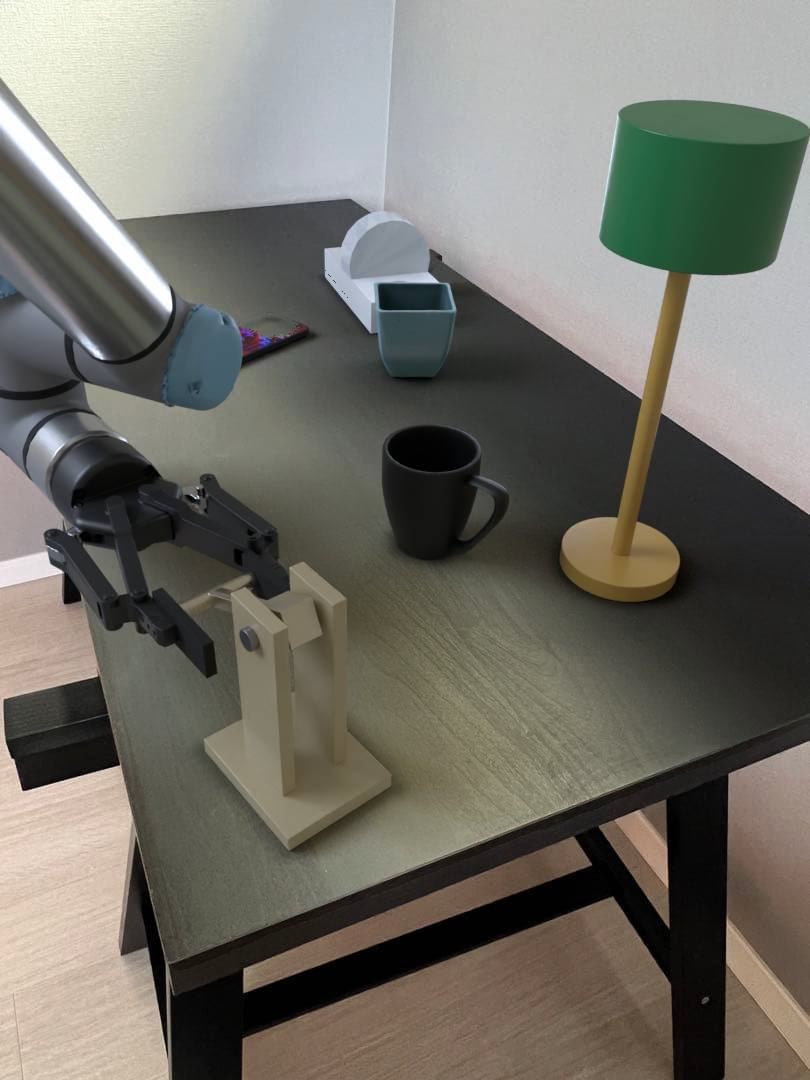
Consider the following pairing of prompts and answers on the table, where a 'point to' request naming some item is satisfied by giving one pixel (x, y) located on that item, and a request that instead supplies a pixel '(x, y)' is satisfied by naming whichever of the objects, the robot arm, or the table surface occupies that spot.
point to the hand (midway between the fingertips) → (256, 637)
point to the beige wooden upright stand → (295, 719)
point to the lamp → (680, 279)
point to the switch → (285, 606)
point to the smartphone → (266, 341)
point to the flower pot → (414, 326)
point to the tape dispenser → (376, 261)
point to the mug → (435, 489)
